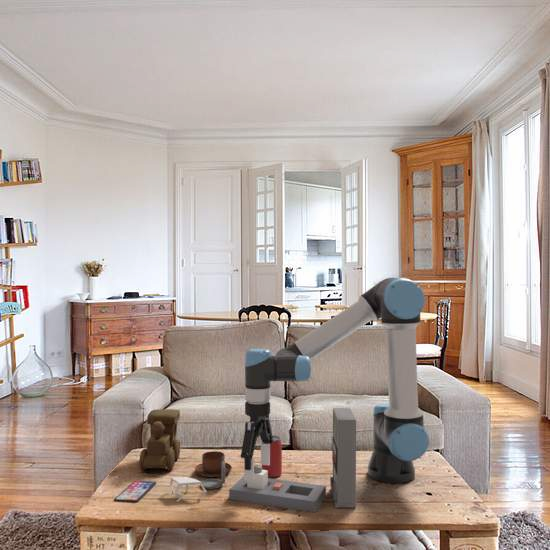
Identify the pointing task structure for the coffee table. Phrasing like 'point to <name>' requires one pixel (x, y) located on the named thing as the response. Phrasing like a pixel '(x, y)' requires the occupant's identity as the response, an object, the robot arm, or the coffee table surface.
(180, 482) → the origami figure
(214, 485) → the pocket watch
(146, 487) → the smartphone
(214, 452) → the cup and saucer
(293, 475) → the coffee table surface
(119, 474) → the coffee table surface
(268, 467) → the beer can
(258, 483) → the plug
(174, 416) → the wooden toy train
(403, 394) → the robot arm
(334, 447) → the upright grey rectangular panel
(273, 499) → the power strip
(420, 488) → the coffee table surface
